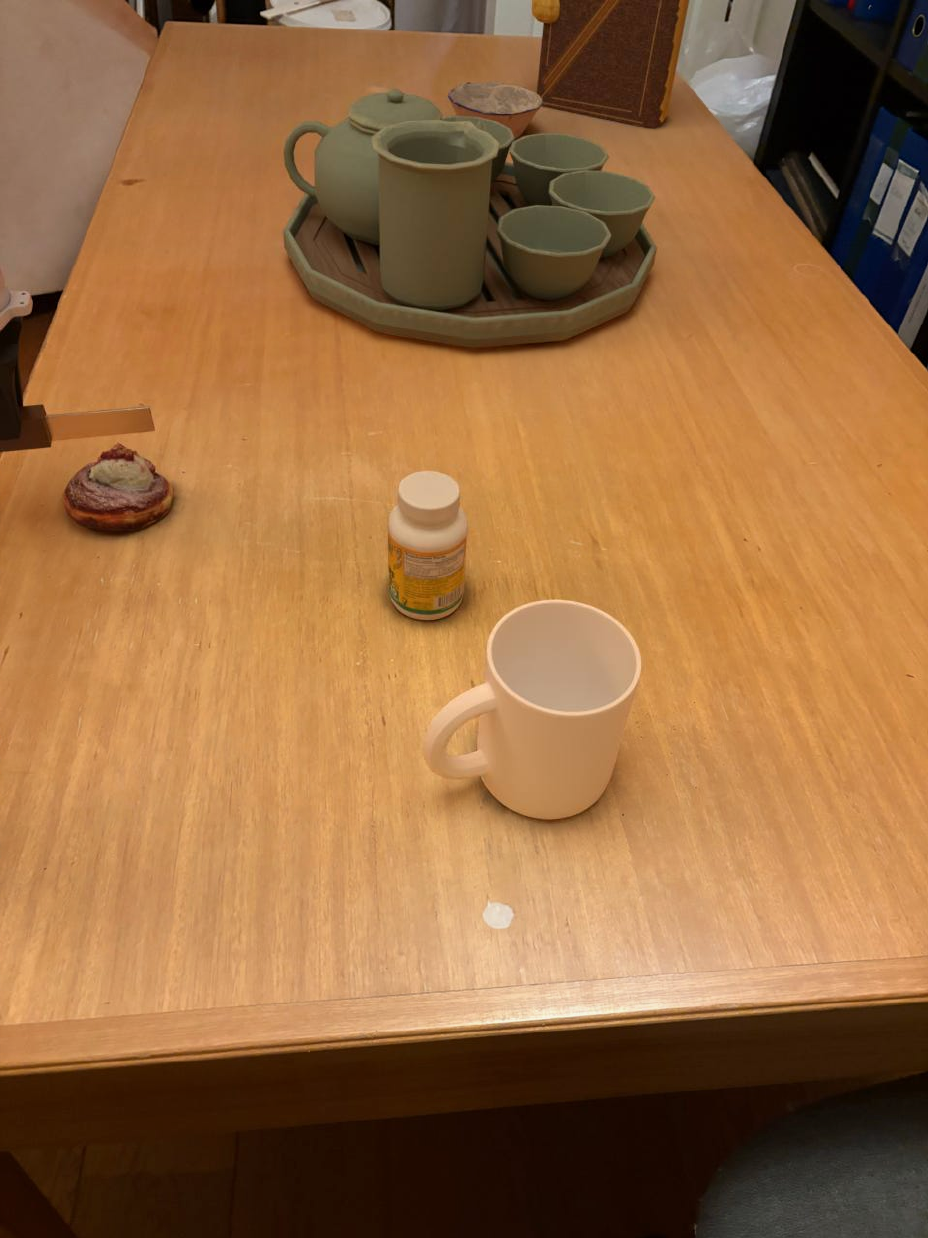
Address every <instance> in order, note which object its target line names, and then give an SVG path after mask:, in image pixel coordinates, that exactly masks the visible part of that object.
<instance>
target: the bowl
mask: <svg viewBox="0 0 928 1238" xmlns="http://www.w3.org/2000/svg"><path fill="white" fill-rule="evenodd" d="M447 98H448V100H449V103H450V105H451V106H452V108H453V110H454V113H455V114H456V115H455V116H468V117H479V118H483V119H488V120H492V121H496V122H498V123H500V124H502V125H504V126H506V127H508V128H510V129H511V131H512V133H513V135H514V138H515V140H518V139H520V138H521V137H522V134H523V133H524V131H525V130H526V128H527V127H528V126H529V124H530V123H531V121H532V120H533V118H534V116H535V115H536V113H537V112H538V111H539V110H540V109H541V107H543V106H542V102H543V100H542V98H541V97H540V96H539V95H538V94H537V92H535V91H534V90H532V89H529V88H527V87H525V86H522V85H517V84H511V83H505V82H504V83H503V82H499V81H485V82H484V81H482V82H481V81H480V82H479V81H476V82H469V81H468V82H467V83H465V82H462V83H461V84H460V85H458V86H456V87H454V88H452V89H451V90H450V91H449V92H448V94H447Z"/></svg>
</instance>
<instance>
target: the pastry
mask: <svg viewBox="0 0 928 1238" xmlns="http://www.w3.org/2000/svg"><path fill="white" fill-rule="evenodd" d="M96 459H97V460H95V461H93V462H89V463H87V464H85V465H84V466H83V467H82V468H80V469H79V470H78V471H77V472H76V473H75V474H74V475H73V476H72V477H71V479H70V480H69V481H68V483H67V485H66V487H65V489H64V491H63V493H62V504H63V506H64V509H65V511H66V513H67V516H69V517H70V518H71V519H72V520H73V521H74V522H75V523H76V524H78V526H80V527H84V528H87V529H93V530H97V531H102V532H127V531H128V532H129V531H141V530H142V529H144V528H147V527H148V526H151V524H154V523H155V522H157V521H159V520H161V519H162V518H163V517H164V516H165V515H166V514H167V513H168V512H170V509H171V505H172V502H173V499H174V487H173V486H172V485H171V483H170V482H169V481H168V480H167V479H166V477H164V476H163V475H161V474H159V473H157V472H156V469H157V467H156V465H155V464H154V463H153V462H151V460H149V459H147V458H145V457H143V456H141V455H140V454H139V453H138V452H137V450H132V449H131V448H127V447H126V446H125V445H123V444H121V443H120V442H117V443H116V444H114V445H113V447H111V448H110V449H109V450H107V451H105V450H104V451H102V452H101V454H100V456H98V457H96Z"/></svg>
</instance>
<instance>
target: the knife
mask: <svg viewBox="0 0 928 1238" xmlns="http://www.w3.org/2000/svg"><path fill="white" fill-rule="evenodd" d="M18 408H19V414H20V422H21V433H20V438H19V439H13V440H2V441H0V453H7V452H8V453H9V452H17V451H29V450H38V449H48V448H52V443H53V442H56V441H68V440H78V439H88V438H97V437H107V436H108V437H109V436H119V435H128V434H139V433H140V434H141V433H149V432H151V433H152V432H155V431H156V429H155V423H154V420H153V415H152V410H151V407H150V405H144V406H133V407H123V408H112V409H111V408H110V409H99V410H89V411H78V412H77V411H76V412H66V413H55V414H47V411H46V409H45V408H46V407H45V405H44V404H43V403H41V404H32V405H23V406H19V407H18Z"/></svg>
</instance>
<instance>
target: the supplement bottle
mask: <svg viewBox="0 0 928 1238" xmlns="http://www.w3.org/2000/svg"><path fill="white" fill-rule="evenodd" d="M396 501H397V503H396V505H395V506H394V507H393V508H392V510H391V511H390V514H389V516H388V520H387V548H388V549H387V554H388V555H387V558H388V559H387V561H388V564H387V565H388V567H387V568H388V569H387V570H388V571H387V572H388V584H387V585H388V595H389V599H390V601H391V603H392V605H394V607H395V608H396V610H398V611H399V612H400V613H401V614H403V615H404V616H405V617H406V616H407V617H408V618H411V619H415V620H420V621H436V620H439V619H443V618H446V617H447V616H449V615H451V614H453V613H454V612H455V610H457V609H458V608H459V606H460V605H461V604H462V601H463V598H464V593H465V592H464V591H465V576H466V560H467V548H468V547H467V546H468V535H469V533H468V532H469V521H468V517H467V514H466V513H465V511H464V510H463V508H462V507H461V488H460V485H459V484H458V483H457V481H456V480H455V479H454V478H453V477H452V476H449V475H448V474H445V473H443V472H440V471H435V470H421V471H416V472H412V473H410V474H407V475H406V476H405V477H404V478H402V480H401V481H400V482H399V483H398V487H397V500H396Z"/></svg>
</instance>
